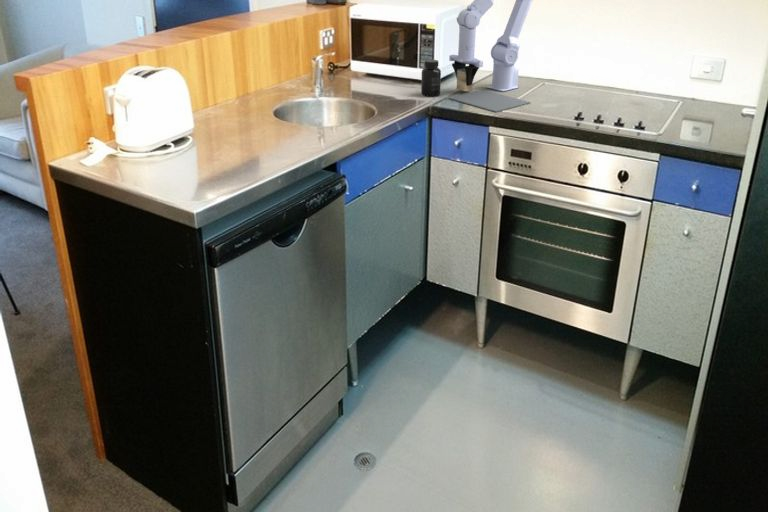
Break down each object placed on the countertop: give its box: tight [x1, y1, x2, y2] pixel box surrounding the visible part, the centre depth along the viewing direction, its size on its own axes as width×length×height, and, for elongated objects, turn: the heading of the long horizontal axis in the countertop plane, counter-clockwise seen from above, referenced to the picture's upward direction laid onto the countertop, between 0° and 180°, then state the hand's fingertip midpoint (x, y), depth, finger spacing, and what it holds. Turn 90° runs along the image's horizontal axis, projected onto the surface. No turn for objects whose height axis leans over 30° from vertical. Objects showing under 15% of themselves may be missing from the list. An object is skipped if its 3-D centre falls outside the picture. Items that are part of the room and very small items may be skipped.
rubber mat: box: [448, 89, 531, 113], centre depth 248 cm, size 18×22×1 cm
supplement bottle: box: [420, 59, 442, 98], centre depth 252 cm, size 7×7×12 cm
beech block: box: [455, 68, 473, 92], centre depth 257 cm, size 4×4×7 cm
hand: (464, 84), depth 257 cm, fingers closed on beech block, 4 cm apart
